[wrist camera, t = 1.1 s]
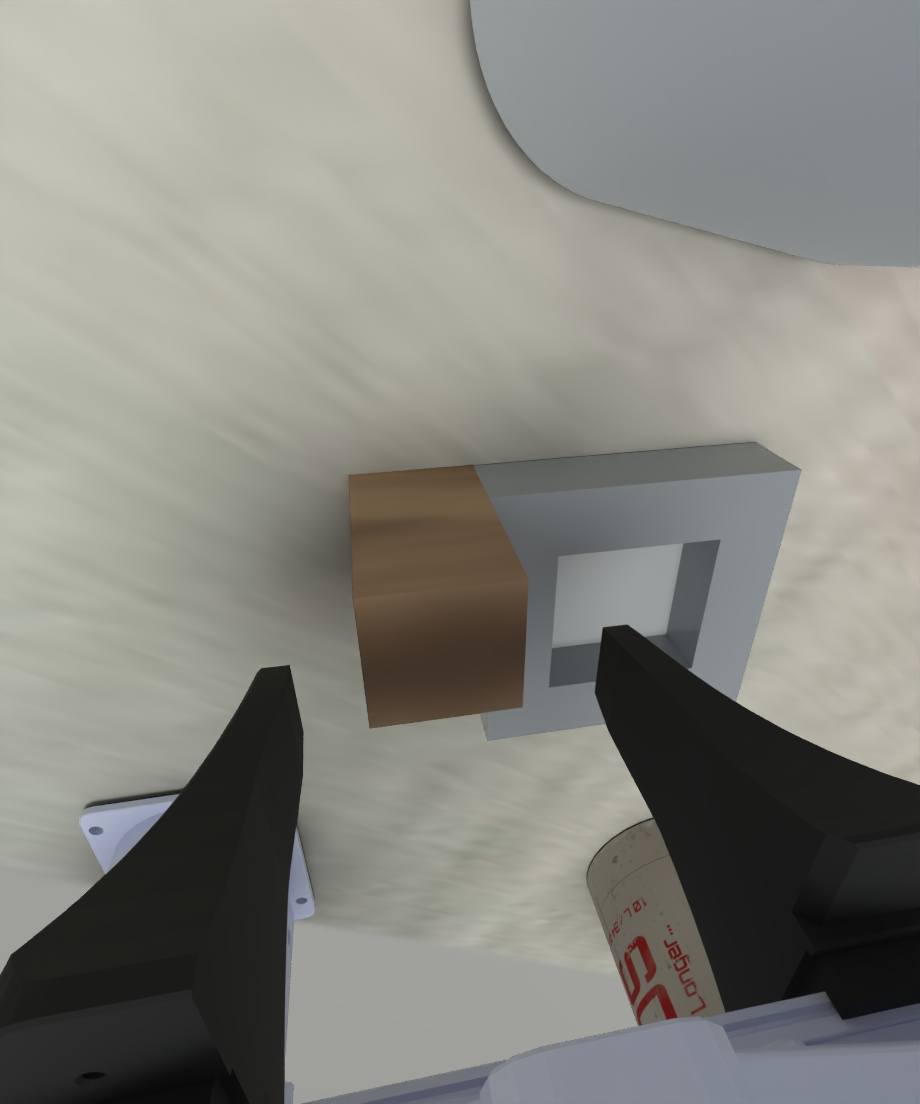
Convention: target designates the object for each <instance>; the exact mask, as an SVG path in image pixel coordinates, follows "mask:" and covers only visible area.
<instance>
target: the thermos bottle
mask: <svg viewBox="0 0 920 1104" xmlns="http://www.w3.org/2000/svg"><path fill="white" fill-rule="evenodd" d="M587 885H588V888H589V891H590V894H591V896H592V899H593V902H594V905H595V907H596V910H597V913H598V916H599V919H600V921H601V924H602V927H603V930H604V932H605V935H606V938H607V941H608V944H609V946H610V949H611V952H612V955H613V958H614V960H615V963H616V966H617V969H618V971H619V974H620V977H621V980H622V983H623V985H624V988H625V991H626V994H627V996H628V999H629V1002H630V1005H631V1008H632V1010H633V1013H634V1016H635V1018H636V1021H637V1024H638V1026H641V1025H646V1024H650V1023H655V1022H660V1021H664V1020H669V1019H674V1018H685V1017H698V1016H699V1017H702V1018H704V1017H708V1016H713V1015H718V1014H722V1013H725V1009H724V1006H723V1003H722V1000H721V997H720V994H719V991H718V988H717V985H716V982H715V978H714V975H713V972H712V969H711V966H710V963H709V960H708V957H707V955H706V952H705V949H704V946H703V943H702V940H701V937H700V935H699V932H698V929H697V926H696V923H695V920H694V917H693V915H692V912H691V909H690V907H689V904H688V901H687V899H686V896H685V893H684V891H683V888H682V885H681V883H680V880H679V877H678V875H677V872H676V870H675V867H674V865H673V862H672V860H671V857H670V855H669V852H668V850H667V847H666V845H665V842H664V840H663V837H662V835H661V833H660V830H659V828H658V826H657V824H656V822H655V820H654V819H651V820H649V821H646V822H643V823H640V824H638V825H636V826H634V827H632V828H630V829H628V830H626V831H624V832H623V833H621V834H620V835H618V836H617V837H615V838H614V839H612V840H611V841H610V842H609V843H608V844H607V845H605V846H604V847H603V848H602V849H601V851H600V852H599V853H598V854H597V855H596V856H595V858H594V860H593V861H592V863H591V865H590V867H589V871H588V874H587Z"/></svg>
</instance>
